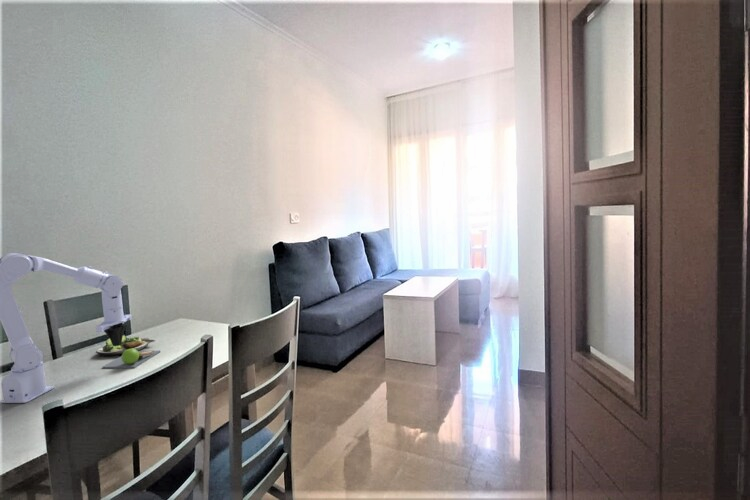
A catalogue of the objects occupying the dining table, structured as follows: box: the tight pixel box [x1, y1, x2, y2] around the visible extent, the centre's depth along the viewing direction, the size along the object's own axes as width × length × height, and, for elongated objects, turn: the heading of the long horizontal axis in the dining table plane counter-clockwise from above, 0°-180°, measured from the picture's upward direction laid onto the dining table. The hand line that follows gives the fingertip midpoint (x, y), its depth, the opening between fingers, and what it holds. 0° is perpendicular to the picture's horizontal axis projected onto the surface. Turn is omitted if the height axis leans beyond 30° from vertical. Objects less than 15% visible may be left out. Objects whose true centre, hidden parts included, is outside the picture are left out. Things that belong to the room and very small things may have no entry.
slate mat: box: [102, 350, 161, 369], centre depth 140 cm, size 15×12×1 cm
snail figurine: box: [120, 349, 155, 364], centre depth 138 cm, size 5×6×12 cm
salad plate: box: [96, 334, 156, 357], centre depth 152 cm, size 19×18×5 cm
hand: (117, 345), depth 132 cm, fingers closed
